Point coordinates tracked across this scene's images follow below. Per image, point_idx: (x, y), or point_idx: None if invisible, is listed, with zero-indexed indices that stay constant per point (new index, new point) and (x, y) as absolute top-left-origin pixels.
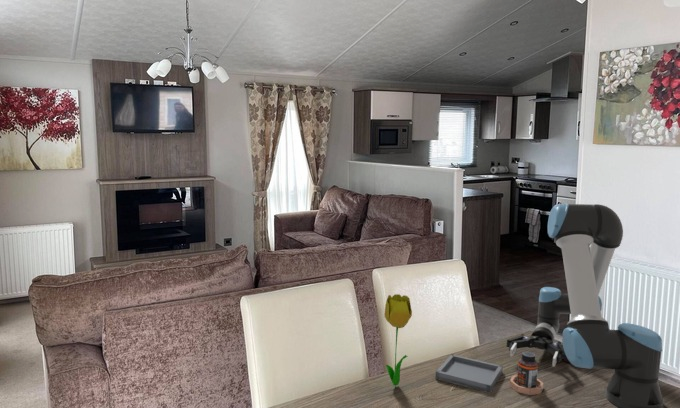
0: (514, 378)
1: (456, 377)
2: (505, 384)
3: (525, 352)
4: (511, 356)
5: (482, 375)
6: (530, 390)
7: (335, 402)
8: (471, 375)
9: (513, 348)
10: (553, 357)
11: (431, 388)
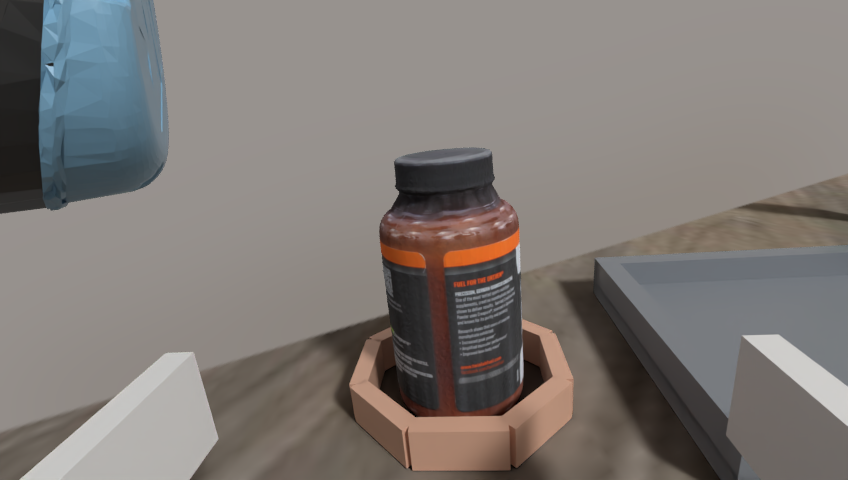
0: (550, 374)
1: (772, 251)
2: (583, 366)
3: (469, 152)
4: (737, 430)
5: None
6: None
7: (842, 175)
8: (791, 322)
9: (784, 378)
10: (172, 368)
11: (788, 246)
